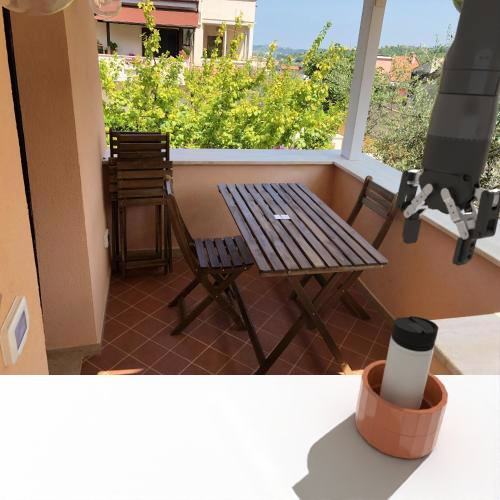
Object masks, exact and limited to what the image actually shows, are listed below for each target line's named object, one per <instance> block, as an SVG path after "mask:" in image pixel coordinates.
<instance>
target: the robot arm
mask: <svg viewBox="0 0 500 500" xmlns="http://www.w3.org/2000/svg"><path fill="white" fill-rule="evenodd" d="M451 1H452V4H453V6H454V8H455V10H456V11H457V12H458V14H459V17H458V21H457V26H456V31H455V36H454V38H453V41H452V42H451V44H450V45H449V46H448V48H447V50H446V51H445V55H444V58H443V60H442V66H441V71H440V75H439V80H438V85H437V90H436V95H435V98H434V102H433V105H432V107H431V108H432V109H431V112H430V116H429V121H428V126H427V131H426V136H425V142H424V147H423V151H422V157H421V163H420V164H421V167H422V168H423V169H422V172H421V170H420V169H405V170H403V171H402V173H401V178H400V183H399V186H398V191H397V196H396V199H395V205H394V208H395V210H396V211H400V212H402V214H403V217H404V223H403V228H402V233H401V235H402V238H403V239H402V243H404V244H406V245H412V244H416V243H417V242H418V239H419V233H420V229H421V225H422V224H421V223H422V218H421V216H422V215H423V214H424V213H425V212H426V211H428V209H429V210H434V211H435V210H437V211H438V212H440V213H441V214H444V215H449V216H450V219H451V222H452V223H453V224H455V226H456V228H457V231H458V234H459V236H460V237H457V240H456V244H455V249H454V253H453V257H452V260H451V261H452V264H453V265H456V266H458V267H459V266H463V265H467V263H468V262H471V261H472V259H473V256H474V252H475V248H476V245H477V241H478V240H482V239H486V238H491V237H492V238H493V237H494V236H495V235H496V231H497V228H498V223H499V217H500V188H493V189H489V188H484V187H481V184H480V179H481V177H482V175H483V174H484V172H485V169H486V166H487V165H486V164H487V161H488V157H489V154H490V149H491V144H492V141H493V137H494V132H495V128H496V124H497V120H498V116H499V108H500V106H499V105H500V0H451ZM418 187H419V188H420V192H419V193H418V194H417V192H418ZM475 199H477V200H476V205H478V208H477V210H476V208H475V207H476V206H475V205H474V201H475ZM463 212H464V213H463Z"/></svg>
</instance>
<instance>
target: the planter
mask: <svg viewBox="0 0 500 500" xmlns="http://www.w3.org/2000/svg"><path fill="white" fill-rule="evenodd" d="M386 360H387V359H379V360H376V361H373V362H370V363H369V364H368V365H367V366H366V367H364V369H363V371H362V374H361V378H360V379H361V380H360V384H359V390H358V396H357V403H356V407H355V414H354V420H355V427H356V429H357V430H358V432H359V434H360V436H361V437H362V438H363V439H364V440H365V441H366V442H367V443H368V444H369V445H370V446H372V447H374V448H375V449H376V450H378V451H379V452H381V453H384V454H386V455H389V456H392V457H395V458H402V459H408V460H409V459H410V460H411V459H419V458H422V457H424V456H427V455H429V454H431V453H432V451H433V450H434V449H435V447H436V446H437V442H438V438H439V435H440V432H441V427H442V424H443V420H444V417H445V412H446V408H447V405H448V399H449V393H448V391H447V389H446V386H445V385H444V383H443V381H441V380H440V379H439V378H438V377H437V376H436V375H435V374H433V373H432V372H430V371H429V372H428V376H427V381H426V385H425V389H424V393H423V397H422V402H421V406H420V410H412V409H405V408H402V407H399V406H396V405H393V404H391V403H389V402H387V401H386V400H384V399H382V398H381V397H379V396H380V391H381V386H382V380H383V375H384V370H385V365H386Z"/></svg>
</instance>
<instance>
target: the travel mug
mask: <svg viewBox="0 0 500 500" xmlns="http://www.w3.org/2000/svg"><path fill="white" fill-rule="evenodd" d="M438 331H439V326H438V325H437V324H436V323H435V322H434V321H432V320H430V319H428V318H424V317H420V316H411V315H410V316H405V317H404V316H403V317H397V318H395V319H394V321H393V326H392V332H391V334H390V339H389V344H388V350H387V355H386V359H385V360H386V365H385V370H384V375H383V380H382V386H381V391H380V396H379V397H381V398H382V399H384V400H386V401H387V402H389V403H391V404H393V405H396V406H399V407H402V408H405V409H412V410H420V406H421V402H422V397H423V393H424V389H425V385H426V381H427V376H428V372H430V368H431V363H432V359H433V355H434V350H435V347H436V341H437V336H438Z"/></svg>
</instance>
